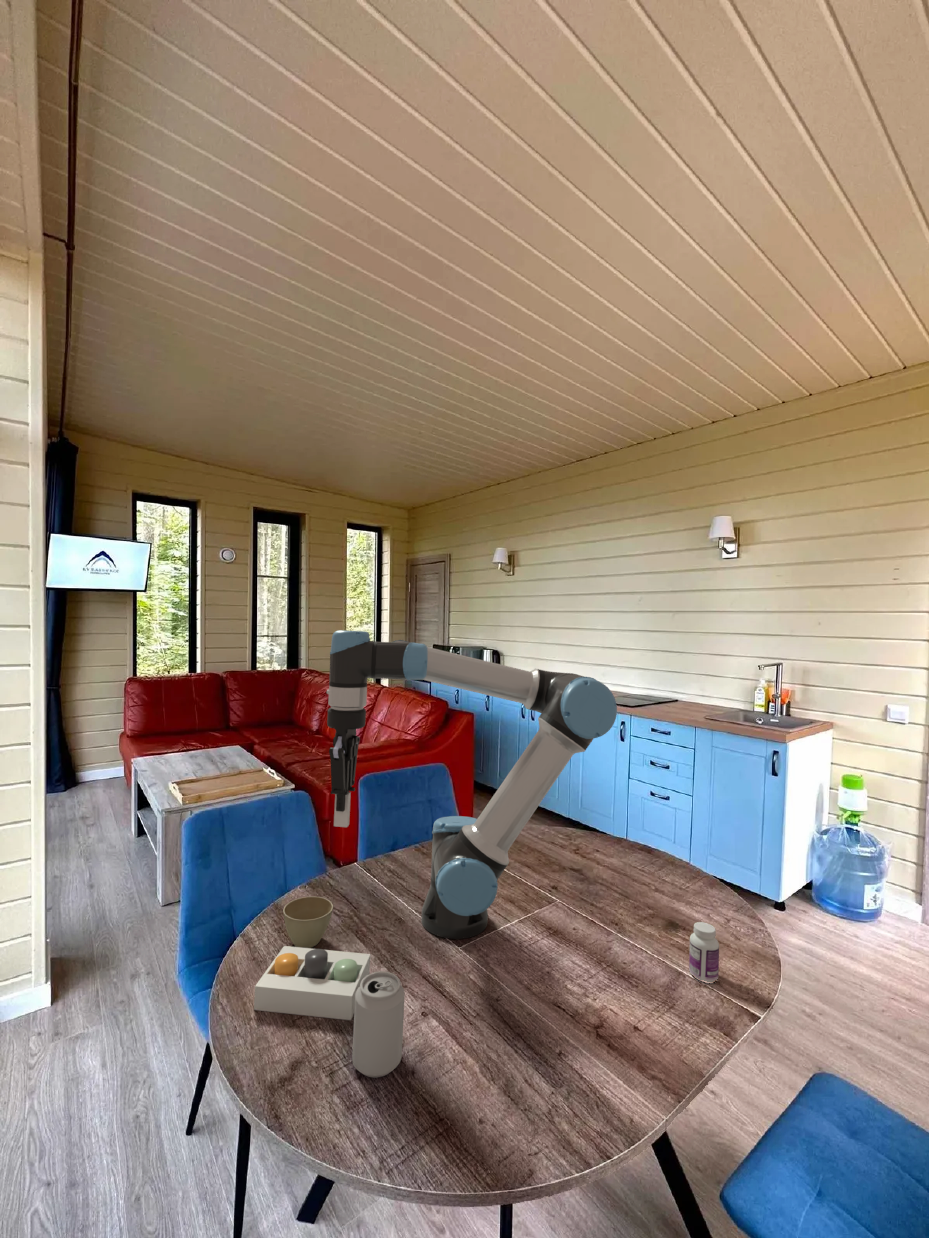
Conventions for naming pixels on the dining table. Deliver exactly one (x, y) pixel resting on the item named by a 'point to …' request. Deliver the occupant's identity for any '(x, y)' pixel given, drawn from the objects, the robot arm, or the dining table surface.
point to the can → (378, 1024)
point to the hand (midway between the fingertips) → (341, 825)
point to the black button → (316, 964)
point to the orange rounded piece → (286, 964)
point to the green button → (345, 970)
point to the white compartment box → (311, 988)
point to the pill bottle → (704, 952)
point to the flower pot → (307, 920)
